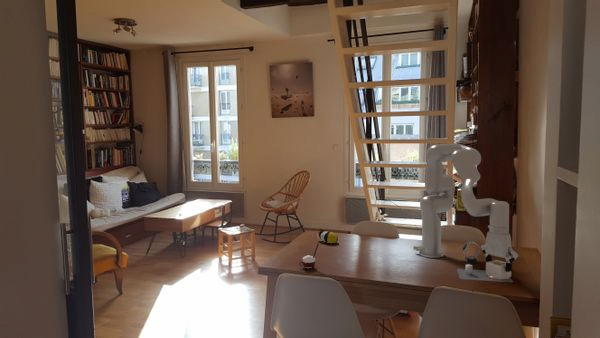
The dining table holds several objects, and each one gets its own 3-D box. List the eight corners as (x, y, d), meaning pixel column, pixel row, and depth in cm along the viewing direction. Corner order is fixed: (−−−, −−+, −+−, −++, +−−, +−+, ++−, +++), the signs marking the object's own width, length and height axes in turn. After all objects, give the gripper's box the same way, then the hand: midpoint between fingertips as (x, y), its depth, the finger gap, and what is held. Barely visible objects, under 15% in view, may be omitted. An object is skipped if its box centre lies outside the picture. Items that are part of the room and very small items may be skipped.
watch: (461, 262, 209) (461, 240, 208) (478, 262, 208) (478, 240, 207) (463, 265, 204) (463, 243, 203) (480, 266, 202) (481, 243, 201)
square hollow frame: (500, 279, 179) (500, 266, 179) (485, 274, 186) (485, 262, 185) (511, 276, 183) (511, 263, 182) (496, 271, 189) (496, 259, 189)
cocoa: (298, 270, 205) (296, 246, 204) (303, 265, 211) (301, 242, 210) (317, 270, 202) (315, 246, 201) (321, 266, 208) (319, 242, 206)
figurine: (322, 239, 262) (322, 226, 262) (341, 243, 252) (340, 230, 251) (313, 241, 257) (313, 228, 256) (331, 246, 246) (331, 232, 245)
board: (459, 282, 182) (459, 269, 182) (456, 271, 195) (456, 260, 195) (513, 285, 176) (513, 272, 176) (506, 274, 190) (506, 262, 189)
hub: (488, 278, 181) (489, 264, 181) (485, 272, 190) (485, 258, 189) (511, 280, 179) (512, 265, 178) (507, 273, 187) (507, 259, 187)
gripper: (476, 227, 188) (475, 264, 190) (512, 234, 173) (511, 275, 175) (487, 225, 192) (486, 261, 193) (523, 232, 177) (522, 272, 178)
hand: (498, 268), depth 184 cm, fingers open, 9 cm apart
